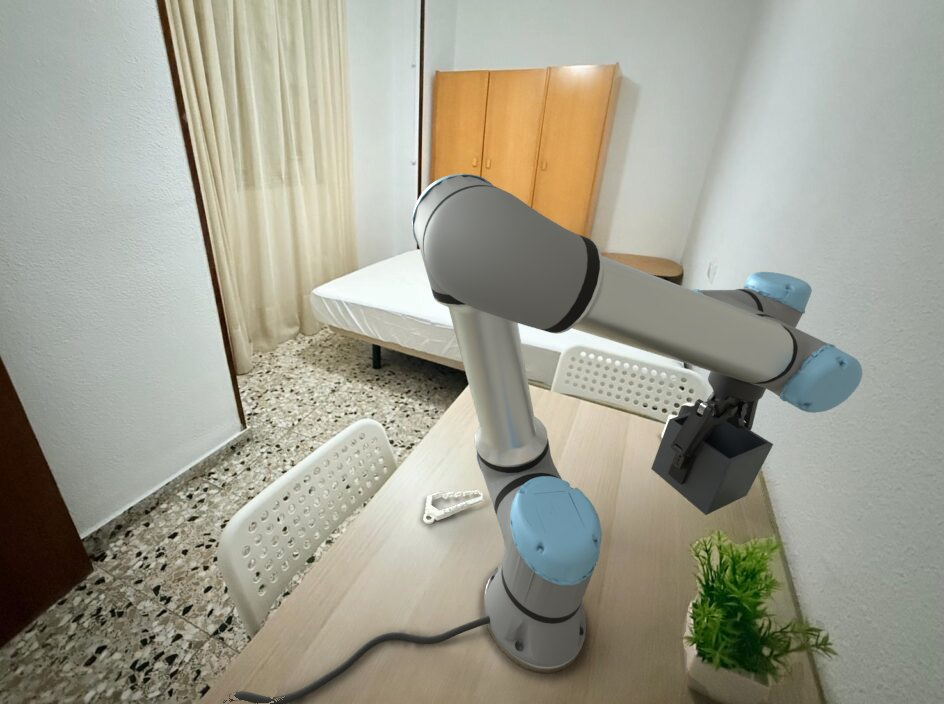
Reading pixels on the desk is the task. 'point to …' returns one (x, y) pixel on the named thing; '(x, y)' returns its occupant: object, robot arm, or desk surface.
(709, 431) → the robot arm
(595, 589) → the desk surface
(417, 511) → the desk surface
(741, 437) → the dark grey cube box
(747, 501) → the desk surface
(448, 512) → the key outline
